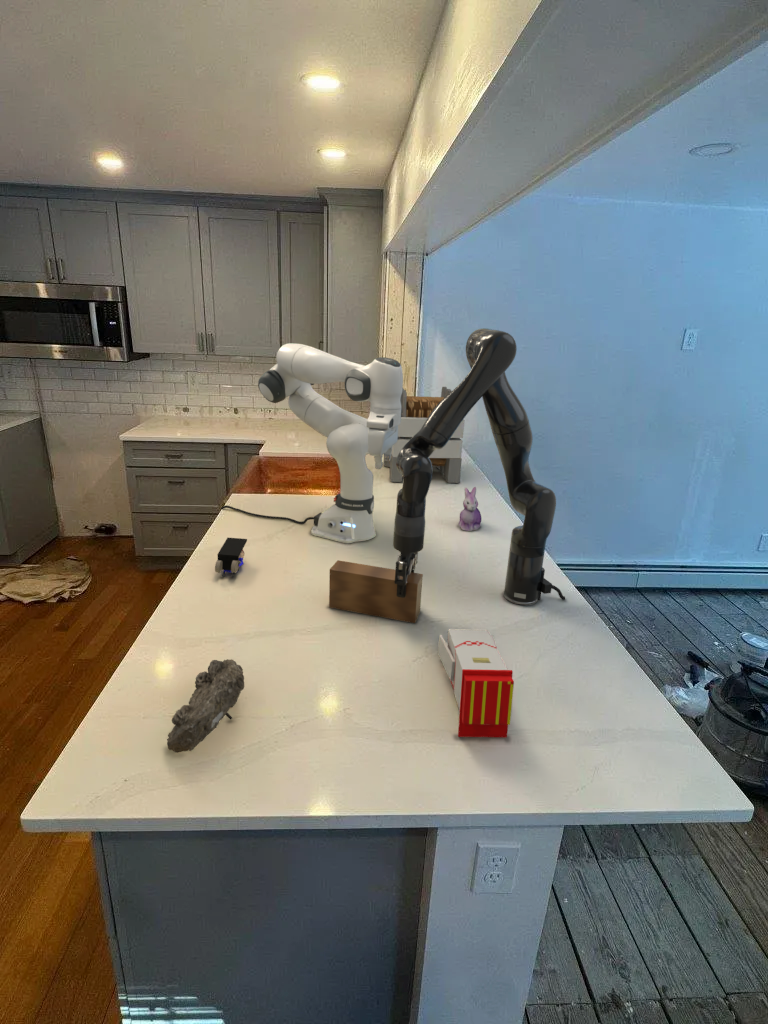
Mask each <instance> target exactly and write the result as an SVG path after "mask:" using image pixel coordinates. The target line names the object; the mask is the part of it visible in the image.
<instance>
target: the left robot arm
mask: <svg viewBox="0 0 768 1024" xmlns="http://www.w3.org/2000/svg"><path fill="white" fill-rule="evenodd" d="M275 361H276V363H275V364H274V365H273V366H272V367H271V368H270V369H268V370H267V371H265V372H263V374H262V375H261V376H260V377H259V379H258V381H257V386H258V390H259V392H260V394H261V395H262V396H263V398H265V400H267V401H268V402H269V403H272V404H277V403H281V402H283V401H284V400H286V399H287V398H288V401H287V402H288V403H287V404H288V407H289V409H290V411H291V412H292V413H293V414H294V415H295V416H296V417H297V418H298V419H299V420H300V421H302V422H303V423H304V424H306V425H307V426H308V427H310V428H311V429H313V430H314V431H316V432H317V433H318V434H319V435H322V436H323V437H325V438H326V442H325V445H326V449H327V452H328V454H329V455H330V456H331V457H332V458H333V459H334V460H335V461H336V464H337V466H338V470H339V476H340V480H339V481H340V484H339V485H340V488H339V489H340V490H339V491H338V492H337V494H336V495H335V496H334V497H333V502H334V504H333V505H331V506H329V507H328V508H326V509H325V510H323V512H319V513H317V514H316V515H313V516H309V517H306V518H305V519H304V520H303V521H300V520H299V521H298V520H295V519H293V518H292V517H291V518H290V517H286V516H273V515H264V514H258V513H253V512H249V511H245V510H243V509H240V508H236V507H233V506H231V505H223V506H221V508H220V510H224V509H230V510H233V511H236V512H240V513H242V514H245V515H248V516H252V517H258V518H263V519H272V520H284V521H290V522H292V523H295V524H298V525H304V524H306V523H307V522H308V521H311V520H312V521H313V526H312V528H311V530H310V533H311V536H315V537H319V538H323V539H326V540H330V541H336V542H339V543H343V544H352V543H357V542H365V541H368V540H372V539H373V538H375V537H376V535H377V532H376V528H375V523H374V513H373V512H374V509H375V496H374V473H373V471H372V470H371V469H369V468H368V466H367V461H366V456H367V455H369V456H372V457H373V460H374V467H375V469H376V470H381V469H382V468H383V466H384V464H383V463H384V461H389V460H390V459H391V452H392V447H393V445H394V444H396V443H397V439H398V425H400V423H401V401H400V399H401V395H402V389H404V388H403V386H404V375H403V373H404V372H403V367H402V364H401V363H400V362H399V361H398V360H396V359H394V358H390V357H386V356H385V357H383V356H381V357H376V358H375V359H373V360H372V361H371V362H370V363H368V364H364V363H363V364H362V363H360V362H355V361H351V360H347V359H344V358H343V357H340V356H337V355H335V354H331V353H329V352H326V351H324V350H322V349H319V348H316V347H314V346H310V345H307V344H302V343H295V342H293V343H292V342H289V343H284V344H283V345H281V346H280V348H278V350H277V353H276V357H275ZM332 383H333V384H334V383H344V391H345V394H346V396H347V397H348V398H349V399H350V400H351V401H353V402H358V403H363V402H369V403H370V405H369V415H368V417H367V418H366V417H363V416H362V415H359V414H357V413H354V412H351V411H349V410H346V409H344V408H342V407H340V406H339V405H337V404H336V403H334V402H333V401H331V400H330V399H328V398H326V397H325V396H323V395H322V394H320V393H318V392H317V391H316V390H315V389H314V388H313V386H314V385H322V384H332ZM384 453H385V455H384Z"/></svg>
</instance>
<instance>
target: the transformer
mask: <svg viewBox="0 0 768 1024" xmlns="http://www.w3.org/2000/svg"><path fill="white" fill-rule="evenodd" d="M452 391H453V390H452V389H451V388H447V386H442V387H441V392H440V393H441V394H440V396H415V395H414V396H413V395H412V396H411V395H407V394H408V393H407V390H406V389H404V388H403V389H402V395H401V399H400V401H401V423H400V425H398V439H397V443H396V444H394V445H393V447H392V452H391V459H390V460H389V461H384V460H383V466H384V467H388V468H389V475H388V476H389V477H388V478H389V480H390V482H391V483H403V475H402V474H401V473H400V472H399V471H398V469H397V467H396V459H397V456H398V454H399V452H400V451H401V449H402V448H403V447H404V446H405V444H406V443H407V442H408V441H409V440H410V439H411V438H412V437H413V436H414V435H415V434H416V433H417V432H419V430H420V429H421V428H422V426H423V424H424V423H425V421H426V420H427V418H428V417H429V415H430V414H431V412H432V411H433V410H434V408H435V407H436V406H437V405H438V404H439V402H440V401H441V400H442V399H444V398H445V397H446V396H447V395H448V394H449V393H450V392H452ZM464 429H465V418H464V419H463V420H462V422H461V423H460V425H459V426H458V428H457V429H456V431H455V432H454V434H453V435H452V436H451V438H450V439H449V440H448V442H447V444H446V445H445V446H444V447H443V448H442V449H436V450H435V451H434V452H433V453H432V454H431V455H430V456H429V457H428V458H429V459H430V461H431V463H432V467H436V468H437V470H438V469H439V473H440V474H441V475H443V478H444V479H445V481H446V482H447V483H449V484H455V483H456V484H459V483H461V472H462V461H463V460H462V453H463V442H464V441H463V440H462V439H463V438H464V431H465V430H464ZM384 455H385V453H384V454H383V456H384Z"/></svg>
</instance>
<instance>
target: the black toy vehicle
mask: <svg viewBox="0 0 768 1024" xmlns="http://www.w3.org/2000/svg"><path fill="white" fill-rule="evenodd" d="M247 542H248V538H240V537H226V539H225V541H224V543H223V544H222V546H221V547H220V549H219V551H218V552H217V560H216V562H215V564H214V572H215V573H221V577H222V578H224V577H225V576H226V574H227V573H230V574H231V573H232V574H231V578H234V577H235V575H236V573H237V572H239V571H240V567H242V566H243V565H244V564H245V562H244V558H245V551H244V547H245V546H246V544H247Z"/></svg>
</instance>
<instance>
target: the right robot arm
mask: <svg viewBox="0 0 768 1024" xmlns="http://www.w3.org/2000/svg"><path fill="white" fill-rule="evenodd" d="M517 349H518V347H517V341H516V339H515V338H514V336H512V334H510V333H509V332H506V331H504V330H499V329H493V328H487V327H486V328H478V329H476V330H474V331H473V332H471V334H469V336H468V338H467V340H466V343H465V356H466V360H467V362H468V365H469V367H470V371H469V372H468V374H467V375H466V376H465V377H464V378H463V380H462V381H461V382H460V383H459V384H458V385H457V386H455V388H453V390H451V391H452V392H450V393H449V394H448V395H447V396H446V397H445V398H444V399H442V400H441V401H440V402H439V404H438V405H437V406H436V407H435V408H434V410H433V411H432V412H431V414H430V415H429V417H428V418H427V420H426V421H425V423H424V424H423V426H422V428H421V429H420V430H419V432H417V433H416V434H415V435H414V436H413V437H412V438H411V439H410V440H409V441H408V442H407V443H406V444H405V446H404V447H403V448H402V449H401V451H400V452H399V454H398V456H397V459H396V467H397V469H398V471H399V472H400V473H401V474H402V477H403V480H402V488H401V489H399V490H398V492H397V496H396V509H395V516H394V523H393V540H392V547H393V548H394V549H395V550H396V551H398V552H399V553H400V555H397V560H396V562H395V570H396V571H395V581H394V582H395V584H397V597H402V598H404V597H405V596H406V585H407V579H408V576H410V574H411V572H413V573H415V570H416V568H417V567H416V566H417V565H418V558H419V557H418V554H419V552H421V551H423V549H424V544H425V543H424V542H425V541H424V540H425V531H426V505H427V504H426V503H427V496H428V493H429V490H430V486H431V483H432V479H433V466H432V463H431V461H430V459H429V458H428V457H429V456H430V455H431V454H432V453H433V452H434V451H435V450H436V449H442V448H443V447H444V446H445V445H446V444H447V442H448V440H449V439H450V438H451V436H452V435H453V434H454V432H455V431H456V429H457V428H458V426H459V425H460V423H461V422H462V420H463V419H464V420H465V418H466V416H467V415H468V414H469V413H470V412H471V410H472V409H473V408H474V407H475V405H476V404H477V403H478V402H479V401H480V399H481V398H482V400H483V405H484V409H485V411H486V415H487V419H488V421H489V425H490V426H489V427H490V430H491V434H492V436H493V440H494V442H495V445H496V449H497V451H498V455H499V460H500V463H501V464H502V469H503V472H504V475H505V481H506V486H507V487H506V488H507V492H508V497H509V501H510V505H511V507H512V508H513V509H514V510H515V512H517V513H518V514H520V515H522V516H524V519H523V524H522V525H517V526H515V527H513V529H512V531H511V535H510V543H509V552H508V559H507V565H506V574H505V582H504V588H503V598H504V599H505V600H506V601H508V602H510V603H512V604H515V605H520V606H531V605H534V604H536V603H538V602H539V601H541V599H542V594H544V595H547V594H551V593H552V590H554V591H555V592H557V594H558V596H559V599H561V600H562V601H565V600H566V596H565V595H563V592H562V590H561V589H560V588H559V587H557V586H556V585H554V584H553V583H552V582H550V581H549V580H547V579H546V578H545V573H546V572H545V571H546V569H545V567H543V564H544V558H545V552H546V545H547V540H548V537H549V536H550V534H551V532H552V528H553V522H554V518H555V514H556V509H557V497H556V494H555V492H554V491H553V490H552V489H551V488H549V487H547V486H545V485H542V484H541V483H538V482H536V480H535V478H534V476H533V473H532V470H531V466H530V455H531V451H532V448H533V444H534V443H533V442H534V437H533V431H532V427H531V424H530V419H529V415H528V413H527V411H526V409H525V407H524V405H523V403H522V402H521V400H520V399H519V397H518V395H517V394H516V392H515V391H514V389H513V387H512V386H511V384H510V382H509V380H508V377H507V374H506V371H507V370H508V369H509V368H510V366H511V365H512V364H513V362H514V361H515V358H516V355H517V352H518V351H517ZM406 571H407V572H406ZM400 576H402V577H403V579H400Z"/></svg>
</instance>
